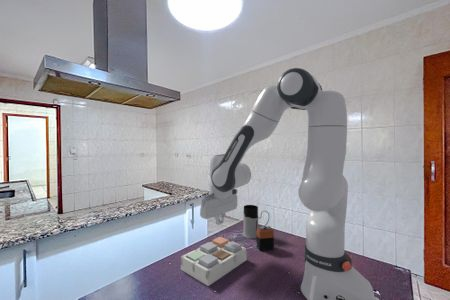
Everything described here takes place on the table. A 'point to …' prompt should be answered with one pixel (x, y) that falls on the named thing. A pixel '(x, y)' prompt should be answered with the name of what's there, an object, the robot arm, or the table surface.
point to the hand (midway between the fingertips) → (219, 223)
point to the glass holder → (251, 221)
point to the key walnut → (221, 255)
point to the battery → (265, 238)
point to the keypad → (213, 262)
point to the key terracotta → (220, 242)
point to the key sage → (195, 255)
